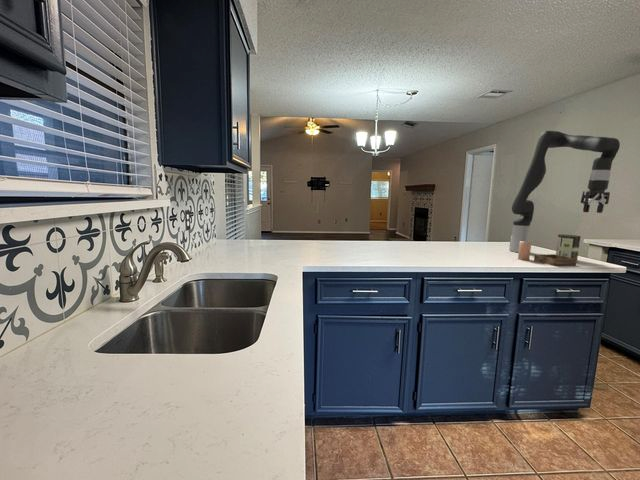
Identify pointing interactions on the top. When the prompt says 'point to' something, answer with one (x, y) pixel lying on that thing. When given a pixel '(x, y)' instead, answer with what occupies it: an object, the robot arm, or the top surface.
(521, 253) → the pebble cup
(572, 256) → the coffee can
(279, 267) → the top surface
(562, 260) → the walnut tray
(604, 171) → the robot arm
